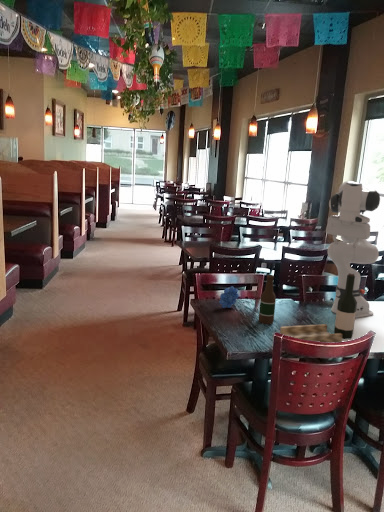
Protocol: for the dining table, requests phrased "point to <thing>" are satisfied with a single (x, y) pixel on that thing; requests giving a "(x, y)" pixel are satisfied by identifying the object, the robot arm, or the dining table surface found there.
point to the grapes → (228, 297)
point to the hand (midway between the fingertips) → (345, 246)
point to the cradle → (311, 333)
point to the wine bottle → (346, 310)
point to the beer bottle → (267, 303)
